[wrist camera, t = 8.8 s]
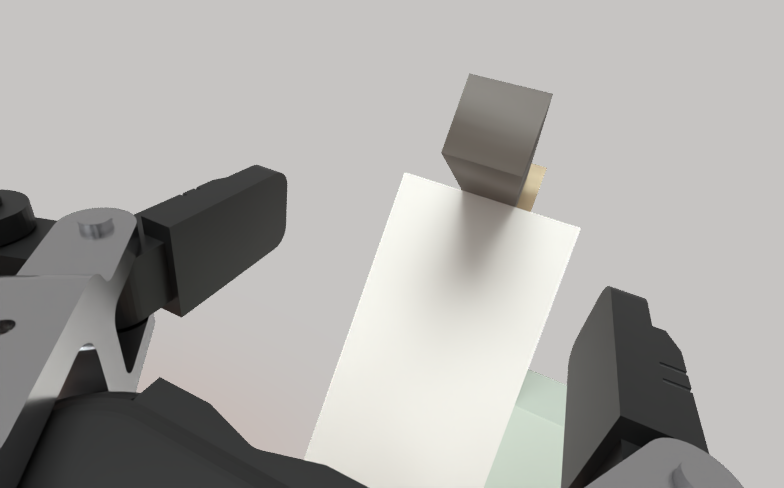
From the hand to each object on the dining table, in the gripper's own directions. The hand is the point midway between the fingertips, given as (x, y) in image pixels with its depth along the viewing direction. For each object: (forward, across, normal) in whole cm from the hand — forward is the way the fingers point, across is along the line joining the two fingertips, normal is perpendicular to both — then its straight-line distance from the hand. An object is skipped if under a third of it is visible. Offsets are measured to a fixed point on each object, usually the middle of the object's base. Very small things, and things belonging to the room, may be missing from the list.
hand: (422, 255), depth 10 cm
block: (+14, 0, +4) cm, 14 cm away
